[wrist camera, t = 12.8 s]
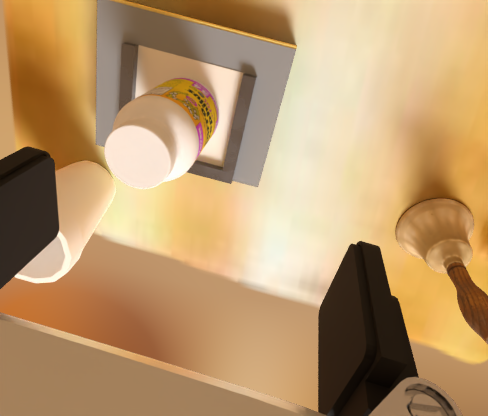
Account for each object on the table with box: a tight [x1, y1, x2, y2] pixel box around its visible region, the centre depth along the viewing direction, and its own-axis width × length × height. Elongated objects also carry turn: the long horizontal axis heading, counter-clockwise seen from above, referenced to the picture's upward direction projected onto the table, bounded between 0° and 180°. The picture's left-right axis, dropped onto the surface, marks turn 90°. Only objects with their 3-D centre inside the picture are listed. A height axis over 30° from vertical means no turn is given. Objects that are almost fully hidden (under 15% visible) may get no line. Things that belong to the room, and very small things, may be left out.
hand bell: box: [396, 198, 488, 344], centre depth 35 cm, size 8×8×16 cm
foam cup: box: [14, 160, 116, 283], centre depth 39 cm, size 10×9×13 cm
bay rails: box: [119, 42, 257, 184], centre depth 35 cm, size 12×11×1 cm
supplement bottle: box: [104, 77, 219, 189], centre depth 30 cm, size 7×7×13 cm
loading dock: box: [96, 0, 297, 187], centre depth 36 cm, size 18×14×3 cm
